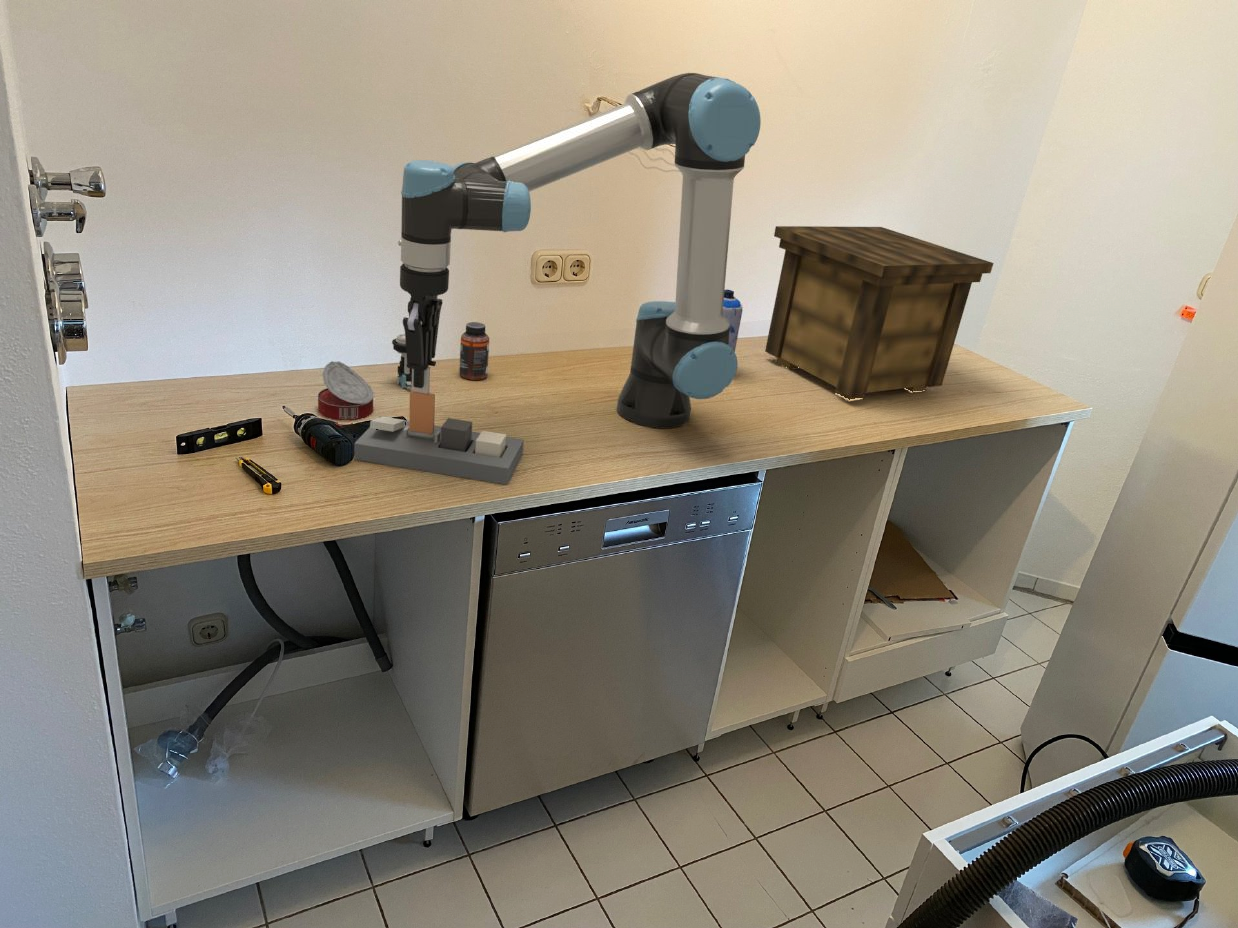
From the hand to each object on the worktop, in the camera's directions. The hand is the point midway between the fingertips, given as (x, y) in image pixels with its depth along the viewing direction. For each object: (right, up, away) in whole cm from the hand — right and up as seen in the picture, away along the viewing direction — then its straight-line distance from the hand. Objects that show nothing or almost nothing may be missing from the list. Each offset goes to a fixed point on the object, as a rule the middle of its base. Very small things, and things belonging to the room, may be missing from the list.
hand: (419, 402), depth 153 cm
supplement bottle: (+3, +8, +40) cm, 41 cm away
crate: (+90, +11, +70) cm, 115 cm away
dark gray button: (+6, -7, +2) cm, 9 cm away
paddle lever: (0, -5, +2) cm, 6 cm away
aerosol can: (+56, +11, +60) cm, 82 cm away
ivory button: (+11, -9, +3) cm, 15 cm away
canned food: (-17, -1, +17) cm, 24 cm away
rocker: (-6, -4, +2) cm, 7 cm away
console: (+3, -9, +4) cm, 10 cm away
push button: (-10, +5, +31) cm, 33 cm away
